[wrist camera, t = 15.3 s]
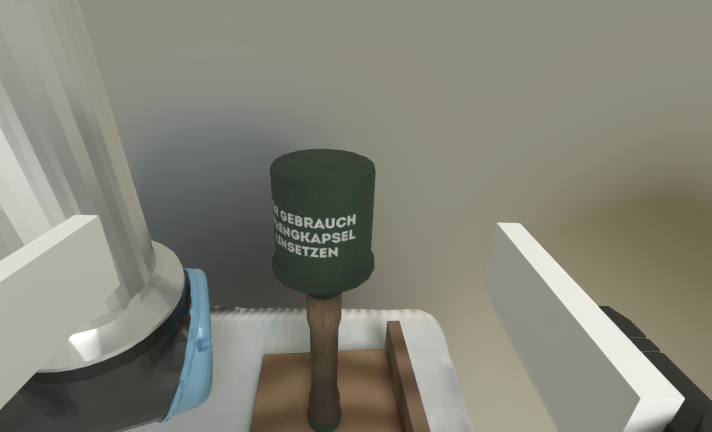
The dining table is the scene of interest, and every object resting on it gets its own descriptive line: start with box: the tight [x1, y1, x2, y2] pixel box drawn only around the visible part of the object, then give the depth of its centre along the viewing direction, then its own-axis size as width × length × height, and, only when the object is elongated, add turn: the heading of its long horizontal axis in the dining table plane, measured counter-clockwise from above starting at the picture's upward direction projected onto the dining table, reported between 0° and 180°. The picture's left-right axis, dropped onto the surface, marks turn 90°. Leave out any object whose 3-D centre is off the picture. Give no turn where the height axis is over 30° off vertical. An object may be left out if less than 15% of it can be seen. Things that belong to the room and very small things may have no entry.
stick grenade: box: [270, 149, 376, 432], centre depth 33 cm, size 8×9×30 cm
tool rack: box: [250, 321, 430, 432], centre depth 40 cm, size 20×18×7 cm
